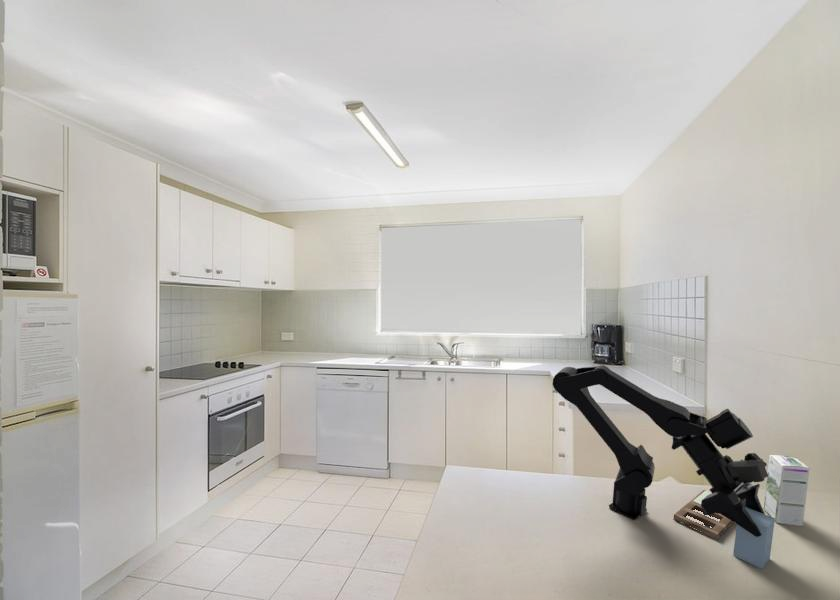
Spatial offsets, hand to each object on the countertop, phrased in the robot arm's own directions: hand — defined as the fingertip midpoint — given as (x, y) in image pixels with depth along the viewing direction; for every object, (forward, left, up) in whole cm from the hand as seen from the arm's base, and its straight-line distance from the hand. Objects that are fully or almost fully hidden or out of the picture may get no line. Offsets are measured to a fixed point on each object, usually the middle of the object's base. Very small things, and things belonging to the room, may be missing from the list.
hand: (763, 531), depth 91 cm
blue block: (-1, 0, -7) cm, 7 cm away
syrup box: (-1, +23, -7) cm, 24 cm away
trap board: (-12, +10, -7) cm, 17 cm away
